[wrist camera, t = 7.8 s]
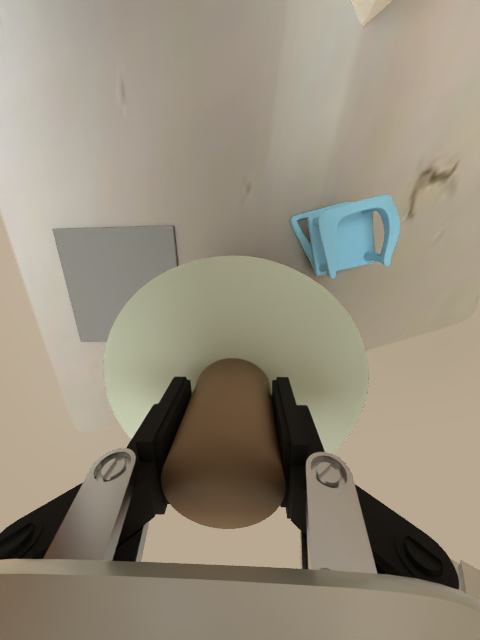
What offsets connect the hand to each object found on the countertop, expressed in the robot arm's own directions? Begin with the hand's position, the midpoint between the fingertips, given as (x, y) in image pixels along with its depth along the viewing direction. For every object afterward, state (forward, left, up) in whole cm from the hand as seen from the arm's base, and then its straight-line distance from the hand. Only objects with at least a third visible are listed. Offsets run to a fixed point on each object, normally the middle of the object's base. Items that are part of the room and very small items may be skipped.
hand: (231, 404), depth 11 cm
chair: (-8, +11, -24) cm, 28 cm away
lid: (0, 0, -2) cm, 2 cm away
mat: (-2, -18, -24) cm, 30 cm away
